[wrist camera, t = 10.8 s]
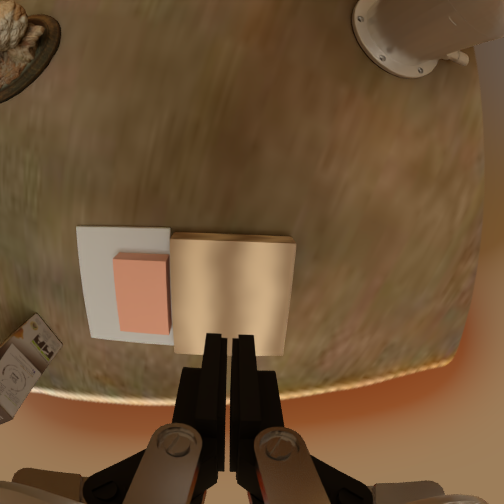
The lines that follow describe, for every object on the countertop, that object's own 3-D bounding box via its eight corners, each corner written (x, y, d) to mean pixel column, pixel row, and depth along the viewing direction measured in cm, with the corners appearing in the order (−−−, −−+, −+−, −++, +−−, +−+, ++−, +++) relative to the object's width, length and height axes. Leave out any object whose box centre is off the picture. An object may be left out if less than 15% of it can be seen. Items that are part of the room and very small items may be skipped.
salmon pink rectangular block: (169, 254, 34) (165, 261, 32) (171, 324, 37) (168, 335, 35) (119, 252, 34) (112, 259, 31) (125, 321, 36) (120, 330, 34)
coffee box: (36, 310, 36) (-26, 376, 20) (64, 345, 37) (14, 419, 22) (9, 334, 36) (-44, 394, 21) (34, 365, 38) (-11, 431, 23)
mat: (170, 227, 34) (169, 228, 33) (174, 342, 38) (174, 345, 38) (78, 225, 33) (76, 226, 32) (92, 335, 37) (91, 337, 37)
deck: (290, 236, 35) (296, 243, 32) (279, 342, 39) (282, 355, 36) (174, 231, 34) (169, 238, 31) (177, 339, 38) (174, 353, 35)
